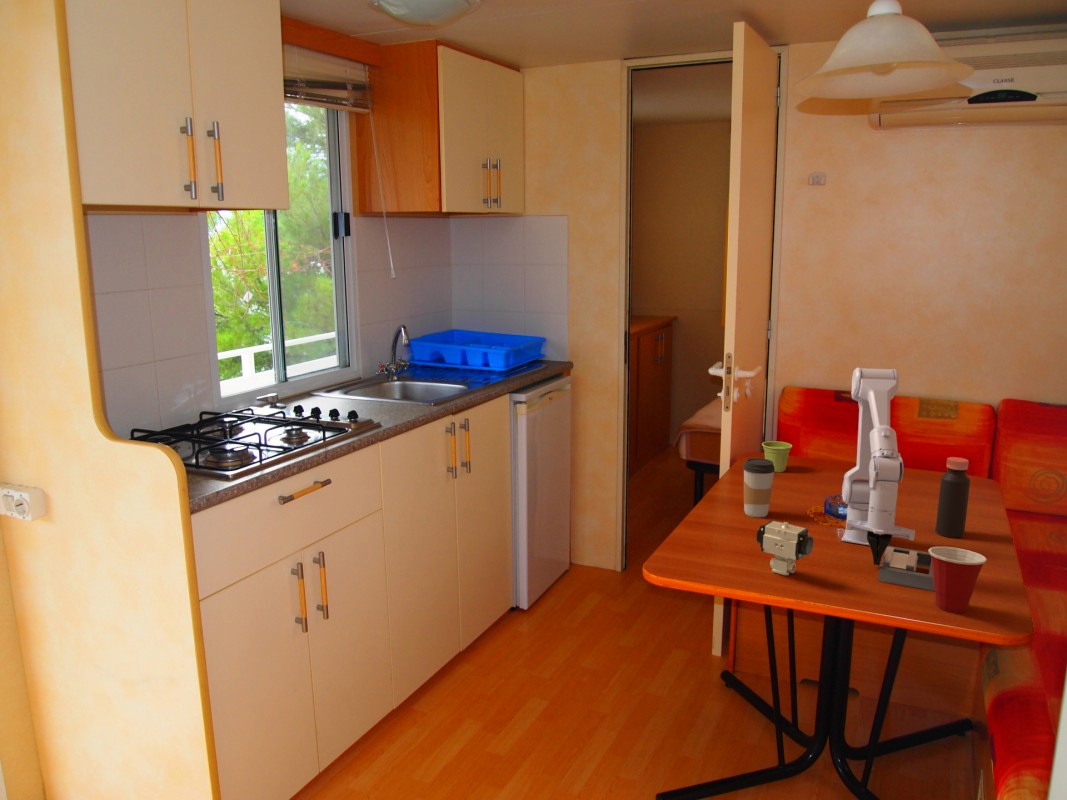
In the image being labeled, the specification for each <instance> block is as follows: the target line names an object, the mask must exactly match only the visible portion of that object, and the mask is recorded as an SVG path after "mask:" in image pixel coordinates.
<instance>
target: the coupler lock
mask: <svg viewBox="0 0 1067 800" xmlns="http://www.w3.org/2000/svg"><path fill="white" fill-rule="evenodd" d="M892 547H893V546H892ZM892 547H887V548H886V549H885V551H884V553H883V556H882V557H883V558H882V559H881V562H880V566H883V567H889V568H895V569H900V570H906V571H912V572H916V571H917V567H918V565H917V560H918V556H917V552H916V551H917V550H916V551H910V552H909V554H903V553H897V552H894V548H892Z"/></svg>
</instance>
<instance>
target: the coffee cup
mask: <svg viewBox="0 0 1067 800" xmlns="http://www.w3.org/2000/svg"><path fill="white" fill-rule="evenodd" d="M774 468H775V467H774V465H773V462H772V461H771V460H768V459H765V458H759V457H751V458H746V460H745V462H744V463H743V505H744V506H743V511H744V513H745V515H746V516H748V517H751V518H765V517H767V516H768V514H769V509H770V504H771V497H772V491H773V480H774V473H775V472H774V471H775V470H774Z"/></svg>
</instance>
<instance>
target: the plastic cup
mask: <svg viewBox="0 0 1067 800" xmlns="http://www.w3.org/2000/svg"><path fill="white" fill-rule="evenodd" d="M927 552H928V553H930V556H931V560H932V567H933V580H934V590H935V591H934V597H935V598H934V599H935V604H936V607H937V608H939V609H941V610H943V611H945V612H949V613H953V614H960V613H961V614H963V613H965V612H966V611H967V608H969V604H970V601H971V598H972V596H973V593H974V590H975V587H976V584H977V580H978V577H979V576H980V575H979V574H980V573H981V570H982V568H983V565H984V564H985V563H986V562H987V558H986V557H985V556H984V555H982V554H981V553H978V552H975V551H972V550H969V549H965V548H959V547H952V546H933V547H930V548H929V549H928V551H927Z"/></svg>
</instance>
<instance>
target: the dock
mask: <svg viewBox="0 0 1067 800" xmlns="http://www.w3.org/2000/svg"><path fill="white" fill-rule="evenodd" d="M887 547H892V548H894V552H897V553H903V554H909V552H910V551H916V552H917V556H918V560H917V566H919V567H920V566H921V567H927V568H929V571H928V573H922V572H918V571H917V572H912V571H906V570H900V569H895V568H889V567H883V566H881V565H879V568H878V578H877V580H878V582H883V583H889V584H893V585H897V586H898V585H899V586H902V587H903V586H904V587H910V588H913V589H919V590H926V591H931V592H935V590H934V580H933V567H932V560H931V556H930V553H929V551H921V550H915V549H908V548H903V547H897V546H891V545H888V546H887Z"/></svg>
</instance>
